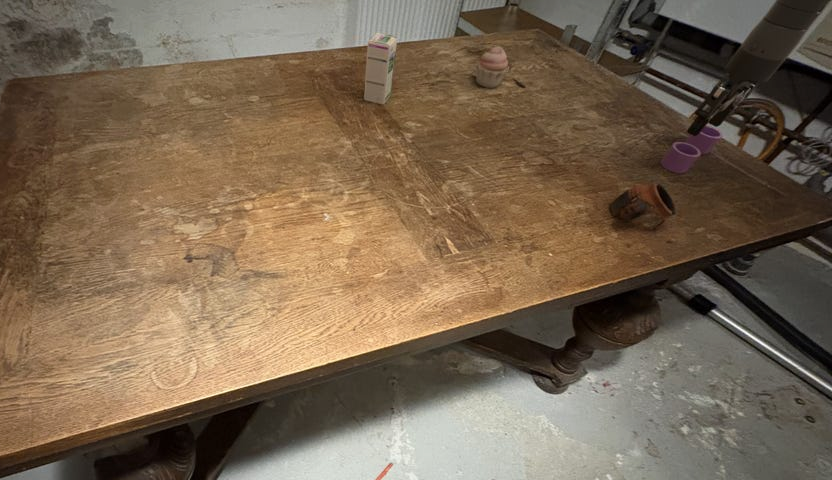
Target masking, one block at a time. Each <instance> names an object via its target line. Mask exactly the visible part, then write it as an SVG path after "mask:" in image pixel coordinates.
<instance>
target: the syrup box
mask: <svg viewBox="0 0 832 480" xmlns="http://www.w3.org/2000/svg"><path fill="white" fill-rule="evenodd" d="M397 45H398V37H397V36H394V35H391V34H387V33H382V32H381V33H379V32H375V34H374V35H373V36H372V37H370V39H369V40H368V41H367V47H366V60H365V61H366V63H365V76H364V91H363V100H364V101H366V102H369V103H373V104H378V105H382V106H384V105H385V104H386V103H387V101H388V100H389V98H390V97H391V95H392V87H393V78H394V70H395V69H394V68H395V64H396V63H395V62H396V61H395V60H396V53H397Z"/></svg>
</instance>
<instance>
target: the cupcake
mask: <svg viewBox="0 0 832 480" xmlns="http://www.w3.org/2000/svg"><path fill="white" fill-rule="evenodd" d="M507 57H508V56H507V53H506V51H505V50H504V49H503V48H502V47H501V46H500V45H498V46H494V47H493V48H492V49H490V51H487V52H485V53H483V54H482V55H481V58H480V60H476V64H475V69H476V77H475V80H476V83H477V85H479V86H480V87H483V88H486V89H494V88H497V87H498V86H499V85H500V83H501V82H502V80H503V78H504V76H506V75H507V73H509V72H510V71H509V69H510V66H509V60H508V59H507Z"/></svg>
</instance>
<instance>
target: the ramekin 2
mask: <svg viewBox="0 0 832 480" xmlns="http://www.w3.org/2000/svg"><path fill="white" fill-rule="evenodd" d="M722 138H723V133H722V132H721V131H720V130H719V129H717V128H716V127H714V126H712V125H711V126H710V125H708V124H707V125H706V126H705V127H704V128H703V130H702V131H701V132H700V134H699V135H697V136H693V135H691V134H688V136H687V138H686V139H685V140H684V141H683V142H684V143H688V144H691V145H693V146H695V147H696V148H697V149H699V150H700V152H701V154H700V155H707V154H709V153H710V152H711V151H712V150H713V148H714V147H715V146H716V145H717V144H718V143H719V141H720V140H721V139H722Z"/></svg>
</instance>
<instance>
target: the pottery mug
mask: <svg viewBox="0 0 832 480" xmlns="http://www.w3.org/2000/svg"><path fill="white" fill-rule="evenodd" d="M633 200H634V201H633ZM651 207H652V209H651ZM650 210H651V211H652V212H653V213H655V215H656V216H657V217H659V218H660V219H661V222H660V223H658V224H657V225H656V226H654V227H653V229H654V230H657V229H659V228H662V226H664V225H665V223H667V221H668V220H669V218H670V217H672V216H674V215H676V212H677V211H676V206H675V203H674V201H673V199H672V197H671V195H670V193H669V192H668V191H667V189H666V188H665V187H664V186H663V185H662V184H661V183H659V182H657V181H655V182H653V183H651V184H638V185H636V186H632V187H631V188H629V189H626V190H625V191H623V193H620V195H618V196H617V197H616V198H615V199H614V200H612V201H611V203H610V212H611V214H612V216H613V217H616V216H617V215H618V214H619V217H620V219H621V220H622V221H623V222H626V223H630V222H632V221H634V220H636V219H637V218H640V217H642V216H645V215H646V214H647V213H648V212H650Z"/></svg>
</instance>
